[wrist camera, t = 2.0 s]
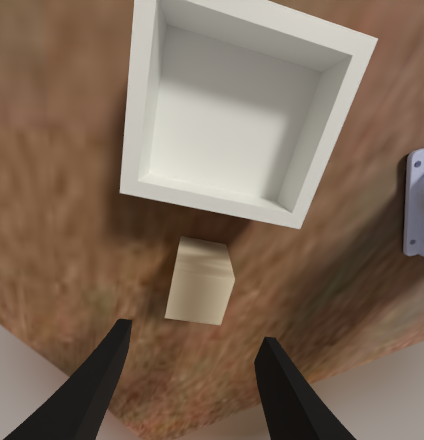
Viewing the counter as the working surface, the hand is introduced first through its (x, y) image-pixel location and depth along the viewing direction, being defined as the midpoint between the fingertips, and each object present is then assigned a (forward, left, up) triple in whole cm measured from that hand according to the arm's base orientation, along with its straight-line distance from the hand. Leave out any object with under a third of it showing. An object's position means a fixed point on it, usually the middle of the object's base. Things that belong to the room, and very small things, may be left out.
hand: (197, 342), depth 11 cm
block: (0, 0, -8) cm, 8 cm away
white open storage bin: (+10, -5, -8) cm, 14 cm away
